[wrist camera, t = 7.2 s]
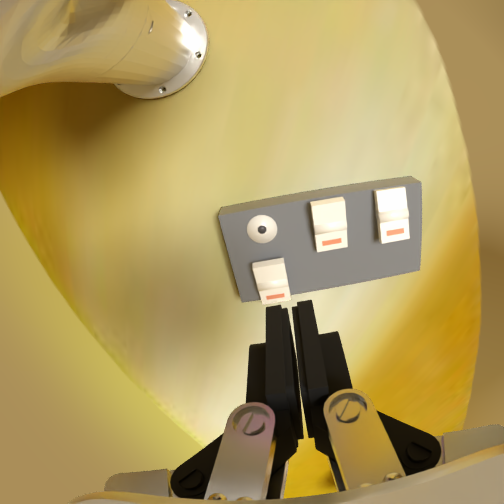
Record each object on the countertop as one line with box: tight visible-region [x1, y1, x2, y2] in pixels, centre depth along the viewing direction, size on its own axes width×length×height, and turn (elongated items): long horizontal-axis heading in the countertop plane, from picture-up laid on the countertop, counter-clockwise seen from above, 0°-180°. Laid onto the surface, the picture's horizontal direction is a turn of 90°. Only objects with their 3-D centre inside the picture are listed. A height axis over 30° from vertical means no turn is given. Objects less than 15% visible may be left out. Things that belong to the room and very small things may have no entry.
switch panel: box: [218, 176, 422, 303], centre depth 37 cm, size 12×24×3 cm, turn 102°
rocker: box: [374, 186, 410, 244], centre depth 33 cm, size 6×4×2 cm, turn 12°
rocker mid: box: [310, 197, 348, 252], centre depth 34 cm, size 6×4×2 cm, turn 12°
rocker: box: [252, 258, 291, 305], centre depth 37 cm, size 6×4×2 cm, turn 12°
